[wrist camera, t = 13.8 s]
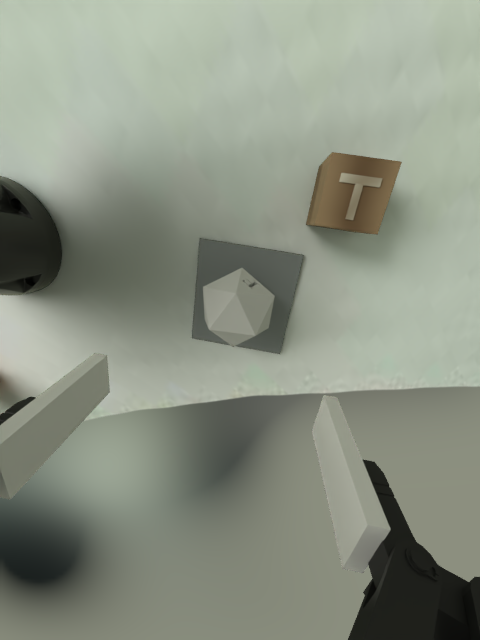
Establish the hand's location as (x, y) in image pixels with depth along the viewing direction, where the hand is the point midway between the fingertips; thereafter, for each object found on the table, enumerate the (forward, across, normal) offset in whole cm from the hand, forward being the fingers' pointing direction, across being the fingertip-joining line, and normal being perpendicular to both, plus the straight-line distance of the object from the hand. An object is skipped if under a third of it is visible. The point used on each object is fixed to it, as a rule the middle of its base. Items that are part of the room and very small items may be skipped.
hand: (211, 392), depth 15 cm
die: (+20, 0, 0) cm, 20 cm away
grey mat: (+20, 0, 0) cm, 20 cm away
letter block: (+20, +9, +13) cm, 26 cm away
